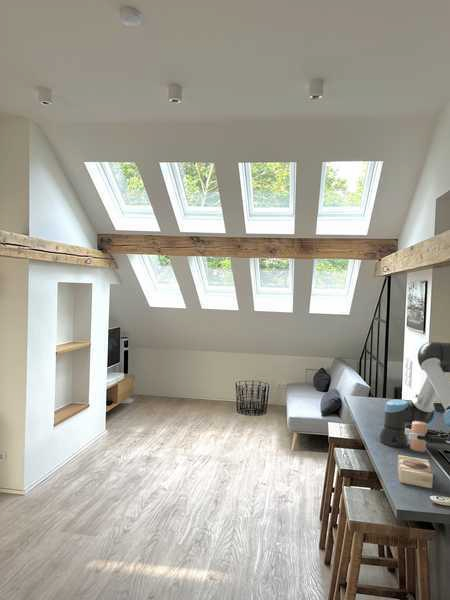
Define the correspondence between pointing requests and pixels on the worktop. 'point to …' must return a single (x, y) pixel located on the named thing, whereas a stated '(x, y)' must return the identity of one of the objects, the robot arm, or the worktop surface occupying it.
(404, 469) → the plinth
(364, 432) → the worktop surface
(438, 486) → the worktop surface
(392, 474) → the worktop surface
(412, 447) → the slanted peach cylinder
